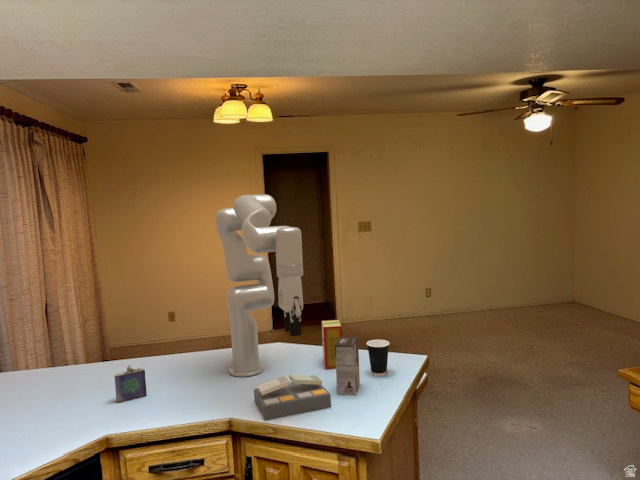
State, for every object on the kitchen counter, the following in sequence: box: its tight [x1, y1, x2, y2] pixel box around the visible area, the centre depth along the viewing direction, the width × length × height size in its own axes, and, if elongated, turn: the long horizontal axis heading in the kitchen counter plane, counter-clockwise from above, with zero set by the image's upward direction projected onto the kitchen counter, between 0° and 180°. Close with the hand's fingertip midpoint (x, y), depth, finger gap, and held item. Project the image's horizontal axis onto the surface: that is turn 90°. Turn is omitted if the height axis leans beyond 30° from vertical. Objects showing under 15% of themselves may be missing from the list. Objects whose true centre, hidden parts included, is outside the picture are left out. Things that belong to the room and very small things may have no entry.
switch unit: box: [253, 381, 332, 421], centre depth 142 cm, size 14×20×5 cm
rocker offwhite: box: [257, 375, 291, 396], centre depth 141 cm, size 5×9×1 cm, turn 110°
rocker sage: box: [288, 373, 323, 386], centre depth 145 cm, size 5×9×1 cm, turn 110°
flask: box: [114, 365, 148, 403], centre depth 152 cm, size 9×3×11 cm, turn 121°
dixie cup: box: [366, 339, 391, 377], centre depth 164 cm, size 8×8×11 cm
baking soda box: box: [321, 319, 343, 370], centre depth 175 cm, size 10×6×16 cm
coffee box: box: [335, 336, 361, 396], centre depth 151 cm, size 9×6×16 cm
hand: (293, 332), depth 136 cm, fingers open, 4 cm apart
